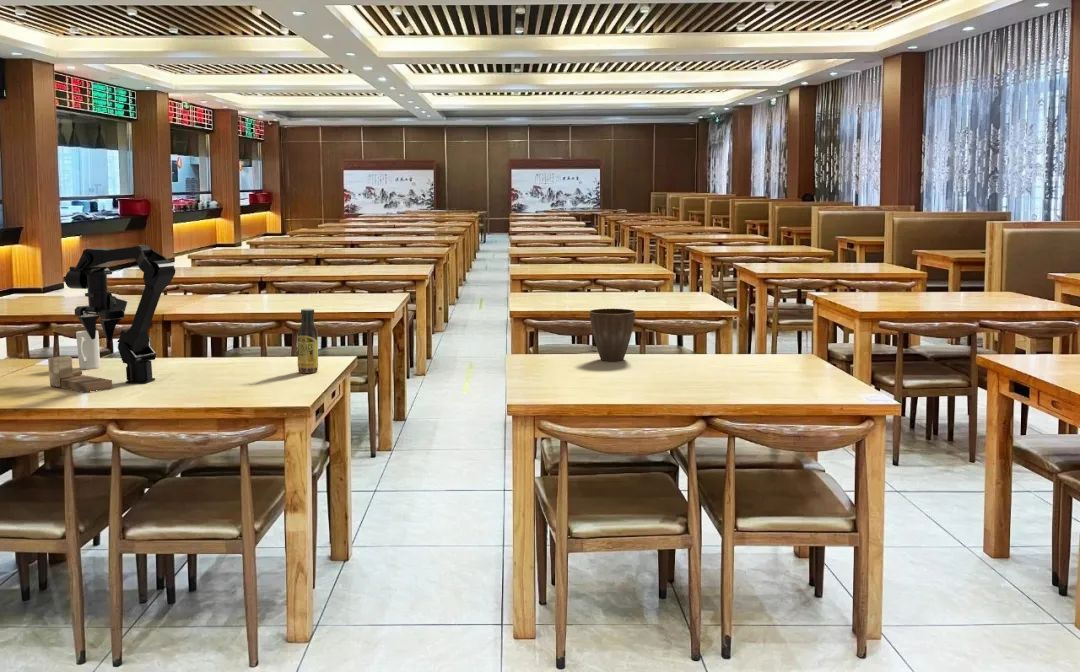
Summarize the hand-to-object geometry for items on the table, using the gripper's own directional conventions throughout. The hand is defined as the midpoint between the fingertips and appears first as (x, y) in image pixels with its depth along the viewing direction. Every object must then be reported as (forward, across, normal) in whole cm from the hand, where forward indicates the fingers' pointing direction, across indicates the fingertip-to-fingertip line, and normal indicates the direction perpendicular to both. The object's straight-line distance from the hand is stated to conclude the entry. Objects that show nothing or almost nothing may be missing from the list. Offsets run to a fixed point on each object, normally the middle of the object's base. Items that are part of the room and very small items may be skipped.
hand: (101, 340), depth 332 cm
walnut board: (+12, -7, +11) cm, 18 cm away
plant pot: (+12, -110, -115) cm, 160 cm away
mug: (+12, +23, -8) cm, 27 cm away
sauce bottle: (+12, -44, -43) cm, 63 cm away
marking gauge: (+11, -1, +12) cm, 17 cm away
